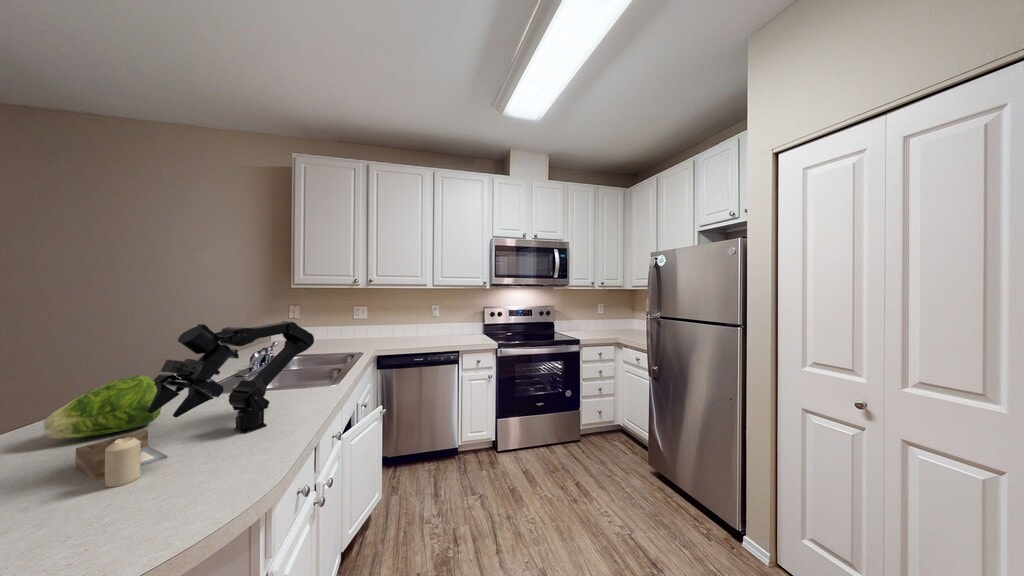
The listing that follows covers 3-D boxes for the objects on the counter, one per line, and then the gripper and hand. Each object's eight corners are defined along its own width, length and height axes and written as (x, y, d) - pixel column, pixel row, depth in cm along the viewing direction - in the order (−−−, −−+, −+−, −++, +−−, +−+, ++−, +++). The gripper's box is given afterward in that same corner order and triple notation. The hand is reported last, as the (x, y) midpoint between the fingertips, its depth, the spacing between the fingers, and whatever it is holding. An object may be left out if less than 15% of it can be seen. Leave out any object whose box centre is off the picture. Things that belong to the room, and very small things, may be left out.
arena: (145, 446, 96) (145, 429, 96) (167, 457, 90) (167, 439, 90) (75, 467, 84) (75, 448, 84) (95, 481, 79) (95, 460, 79)
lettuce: (55, 464, 97) (46, 415, 102) (168, 425, 115) (156, 385, 120) (38, 443, 87) (30, 391, 92) (164, 404, 105) (151, 362, 110)
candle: (115, 489, 76) (116, 446, 76) (98, 485, 77) (98, 443, 77) (146, 475, 81) (146, 435, 81) (129, 472, 82) (130, 433, 82)
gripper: (162, 345, 93) (106, 396, 83) (212, 349, 89) (159, 404, 78) (194, 366, 101) (147, 416, 91) (242, 371, 97) (197, 424, 86)
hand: (161, 414), depth 86 cm, fingers open, 9 cm apart
